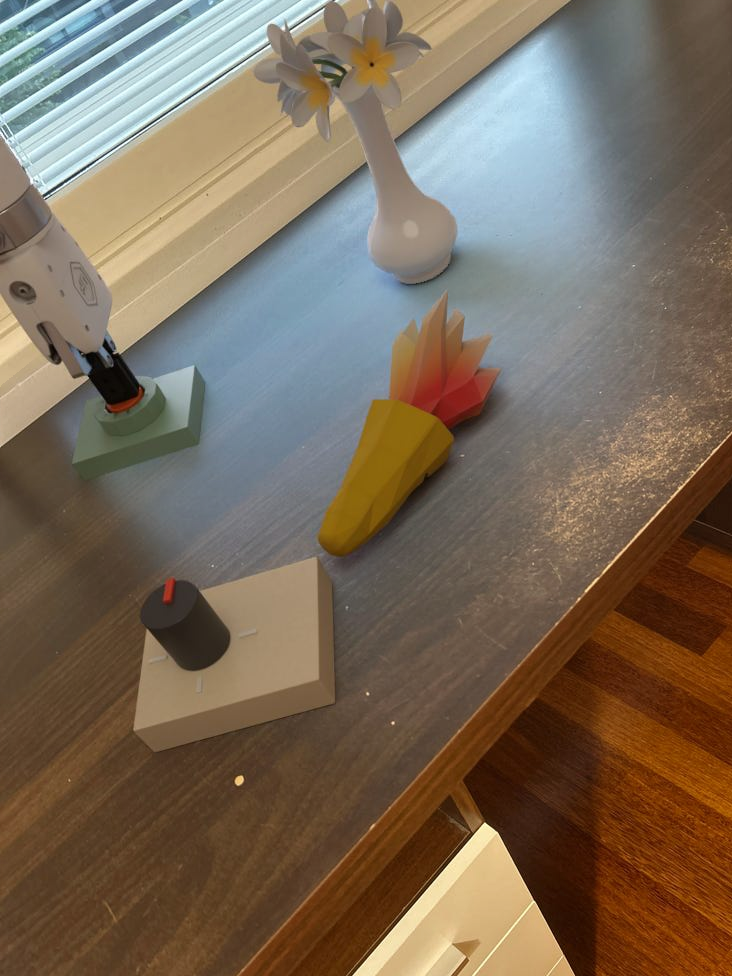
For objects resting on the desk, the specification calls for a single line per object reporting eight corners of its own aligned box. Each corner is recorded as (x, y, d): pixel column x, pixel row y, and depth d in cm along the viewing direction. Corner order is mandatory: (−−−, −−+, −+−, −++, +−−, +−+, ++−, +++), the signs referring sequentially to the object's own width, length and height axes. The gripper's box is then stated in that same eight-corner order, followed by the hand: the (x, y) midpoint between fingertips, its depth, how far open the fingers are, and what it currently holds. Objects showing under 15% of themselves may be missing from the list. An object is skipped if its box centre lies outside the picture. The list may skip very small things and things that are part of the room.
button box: (84, 480, 98) (60, 450, 95) (98, 417, 104) (75, 386, 101) (199, 444, 96) (177, 411, 93) (205, 382, 103) (185, 349, 100)
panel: (154, 753, 74) (131, 729, 71) (168, 629, 81) (148, 604, 79) (335, 703, 72) (318, 677, 69) (332, 581, 79) (316, 554, 77)
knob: (228, 663, 73) (192, 617, 69) (172, 677, 74) (133, 632, 70) (233, 617, 76) (198, 570, 72) (179, 631, 76) (141, 585, 72)
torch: (357, 596, 83) (474, 366, 92) (411, 584, 77) (531, 338, 86) (276, 538, 79) (407, 303, 88) (326, 521, 73) (461, 270, 82)
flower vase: (381, 227, 112) (285, -21, 93) (522, 236, 103) (446, -37, 84) (313, 299, 107) (197, 52, 88) (455, 316, 97) (359, 43, 79)
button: (114, 428, 98) (104, 414, 96) (118, 405, 100) (108, 391, 99) (148, 417, 97) (138, 402, 96) (152, 394, 99) (142, 380, 98)
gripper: (28, 253, 78) (153, 433, 92) (58, 164, 88) (167, 339, 102) (-58, 284, 79) (78, 457, 93) (-19, 193, 89) (99, 363, 103)
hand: (125, 395), depth 97 cm, fingers closed
